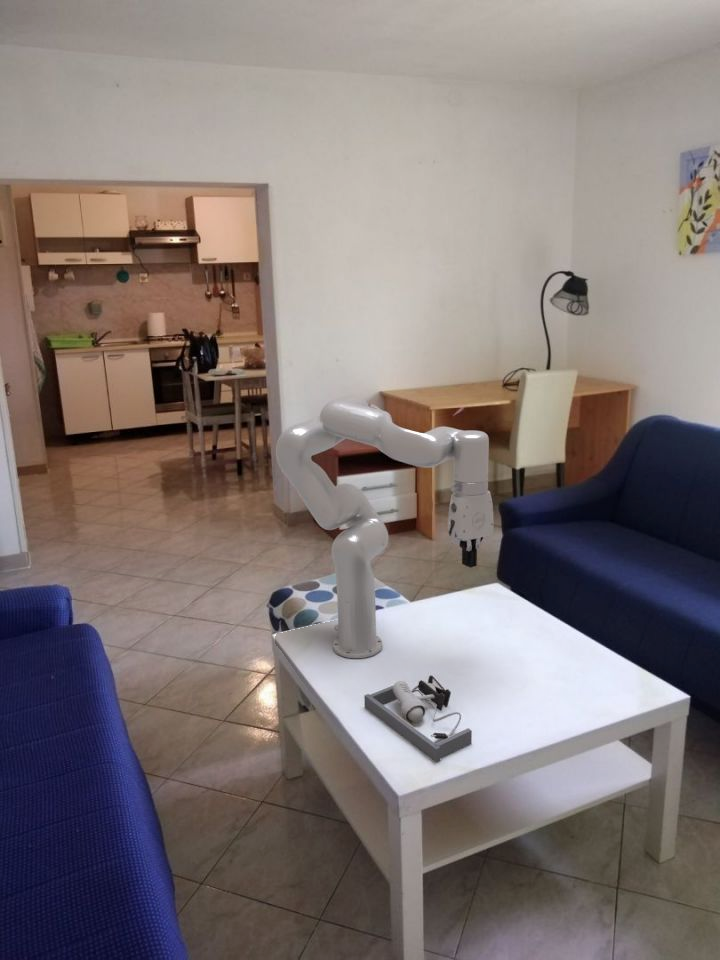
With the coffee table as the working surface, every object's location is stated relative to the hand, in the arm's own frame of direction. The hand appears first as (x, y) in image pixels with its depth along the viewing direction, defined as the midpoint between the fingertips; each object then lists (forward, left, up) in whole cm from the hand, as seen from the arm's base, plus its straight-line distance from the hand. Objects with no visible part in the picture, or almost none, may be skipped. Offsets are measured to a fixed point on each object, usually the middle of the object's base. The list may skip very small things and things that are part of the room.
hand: (469, 565), depth 166 cm
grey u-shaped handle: (+10, -24, -27) cm, 37 cm away
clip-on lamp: (+9, -20, -27) cm, 35 cm away
